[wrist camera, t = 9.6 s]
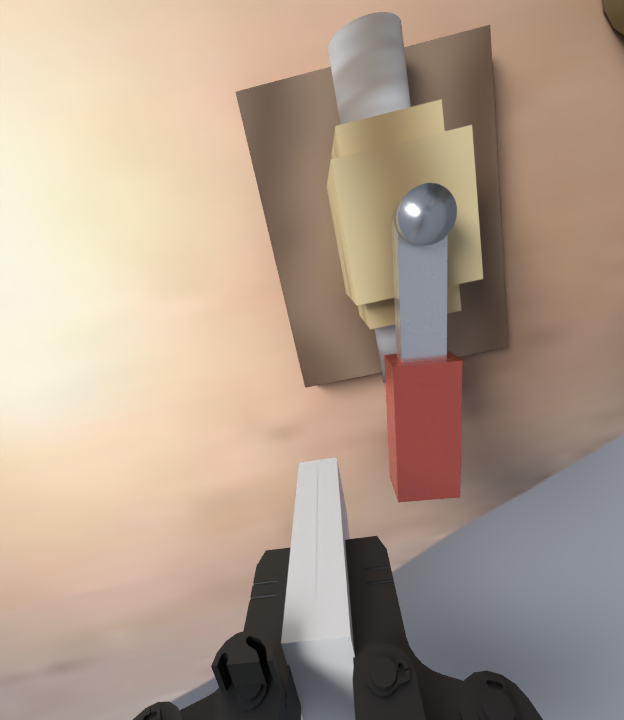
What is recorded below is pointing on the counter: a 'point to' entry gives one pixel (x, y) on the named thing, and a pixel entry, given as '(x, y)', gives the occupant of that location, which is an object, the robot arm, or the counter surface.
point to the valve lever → (423, 353)
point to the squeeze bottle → (615, 13)
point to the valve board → (305, 214)
